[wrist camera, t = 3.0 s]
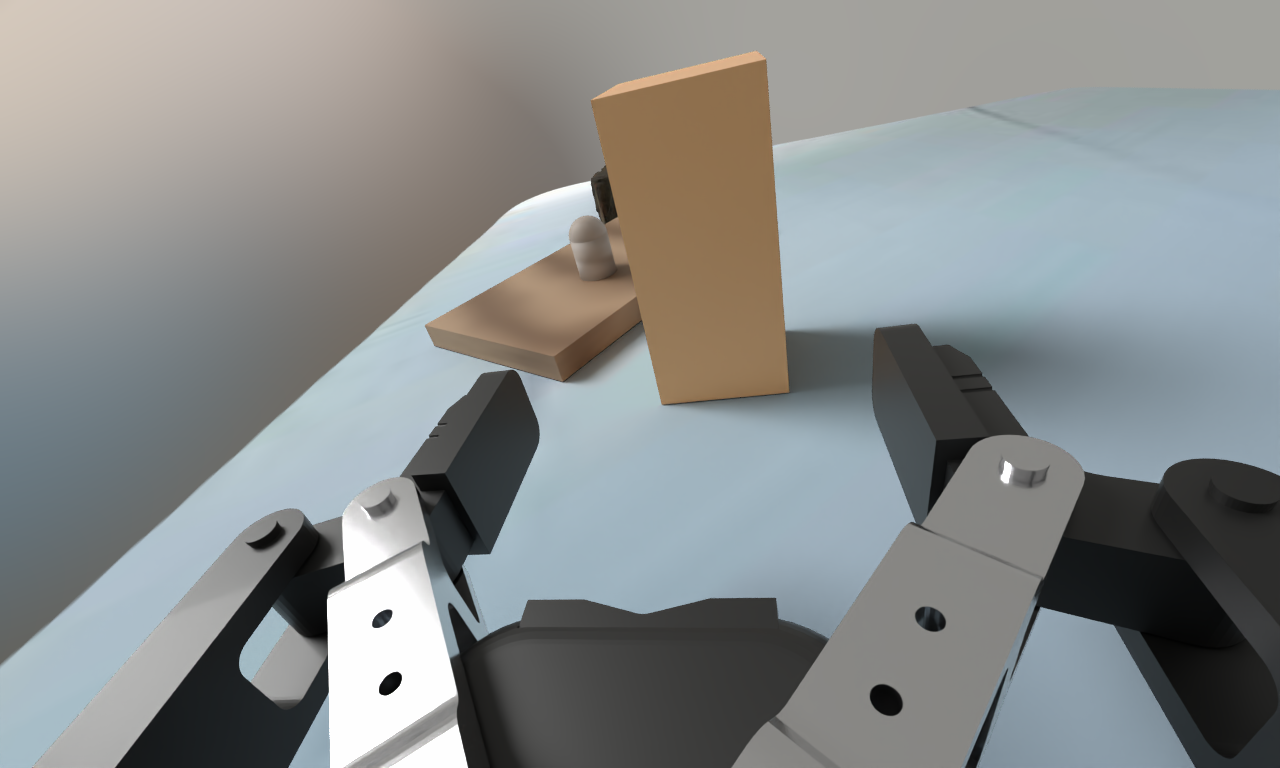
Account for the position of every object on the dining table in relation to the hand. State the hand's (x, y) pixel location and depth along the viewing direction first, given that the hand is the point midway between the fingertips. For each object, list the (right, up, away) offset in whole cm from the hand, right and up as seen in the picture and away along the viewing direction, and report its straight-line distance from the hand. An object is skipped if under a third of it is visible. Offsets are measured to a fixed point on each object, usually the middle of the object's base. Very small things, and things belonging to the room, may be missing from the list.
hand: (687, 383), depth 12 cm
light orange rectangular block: (+3, +1, +13) cm, 13 cm away
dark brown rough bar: (-3, +19, +43) cm, 47 cm away
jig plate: (-4, +7, +24) cm, 25 cm away
